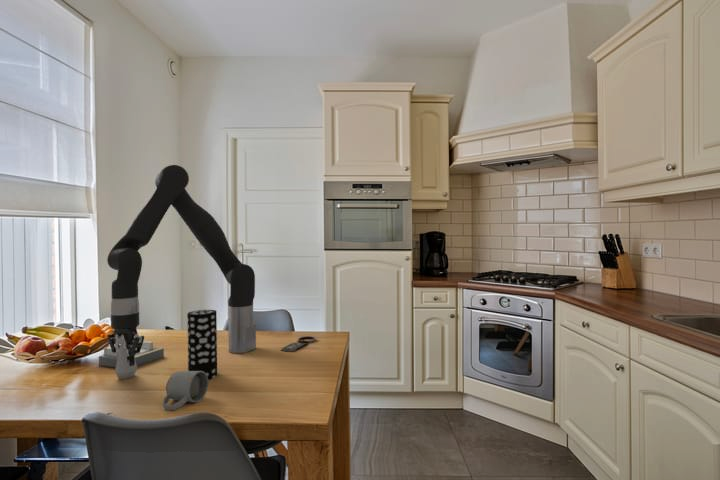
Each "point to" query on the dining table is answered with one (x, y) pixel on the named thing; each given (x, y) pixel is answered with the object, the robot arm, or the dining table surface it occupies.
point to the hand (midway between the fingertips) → (126, 366)
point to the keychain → (301, 342)
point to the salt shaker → (124, 363)
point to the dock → (143, 357)
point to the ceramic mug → (185, 388)
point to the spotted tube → (202, 342)
